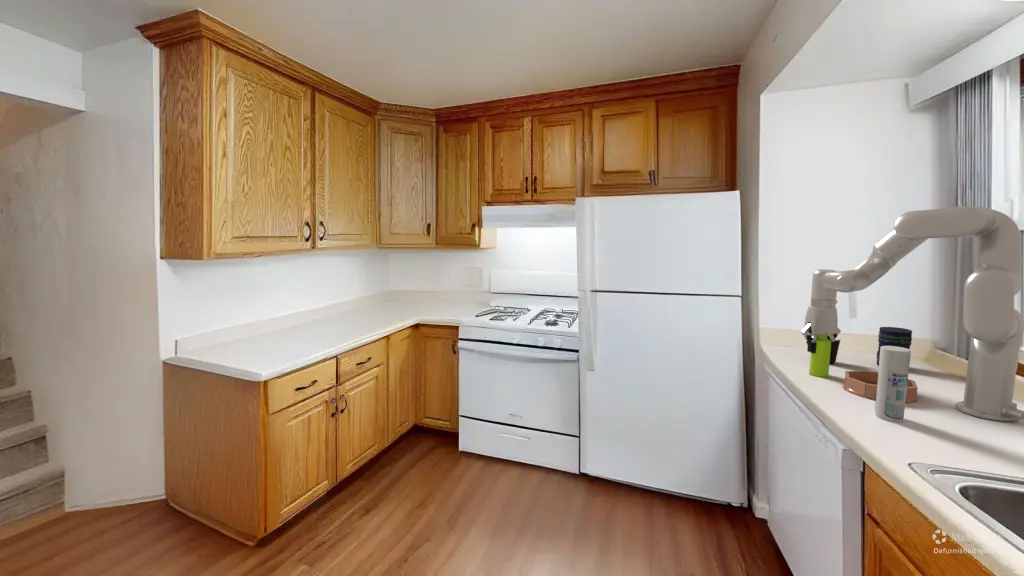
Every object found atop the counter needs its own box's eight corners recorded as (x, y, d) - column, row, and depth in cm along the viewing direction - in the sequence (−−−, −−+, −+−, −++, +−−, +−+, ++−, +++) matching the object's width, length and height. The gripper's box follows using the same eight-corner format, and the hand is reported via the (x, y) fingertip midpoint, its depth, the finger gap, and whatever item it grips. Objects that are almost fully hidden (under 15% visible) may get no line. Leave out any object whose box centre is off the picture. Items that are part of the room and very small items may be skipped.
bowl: (933, 400, 140) (935, 386, 140) (880, 404, 137) (881, 390, 137) (876, 381, 159) (877, 368, 158) (828, 384, 156) (829, 371, 155)
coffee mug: (843, 365, 178) (845, 340, 177) (821, 365, 178) (823, 340, 177) (824, 357, 190) (825, 333, 189) (803, 357, 190) (805, 333, 189)
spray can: (890, 412, 131) (896, 345, 129) (910, 421, 125) (917, 351, 123) (868, 413, 131) (874, 345, 129) (887, 422, 125) (894, 351, 122)
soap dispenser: (820, 371, 170) (825, 319, 168) (831, 377, 163) (836, 323, 161) (804, 371, 171) (808, 319, 169) (814, 376, 164) (819, 322, 162)
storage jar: (870, 365, 178) (873, 328, 176) (884, 362, 182) (887, 325, 180) (900, 372, 169) (904, 333, 167) (914, 368, 173) (918, 330, 171)
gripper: (835, 301, 169) (831, 348, 171) (793, 302, 166) (790, 350, 169) (853, 304, 162) (849, 353, 164) (810, 305, 159) (806, 355, 161)
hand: (819, 351), depth 166 cm, fingers closed on soap dispenser, 5 cm apart
